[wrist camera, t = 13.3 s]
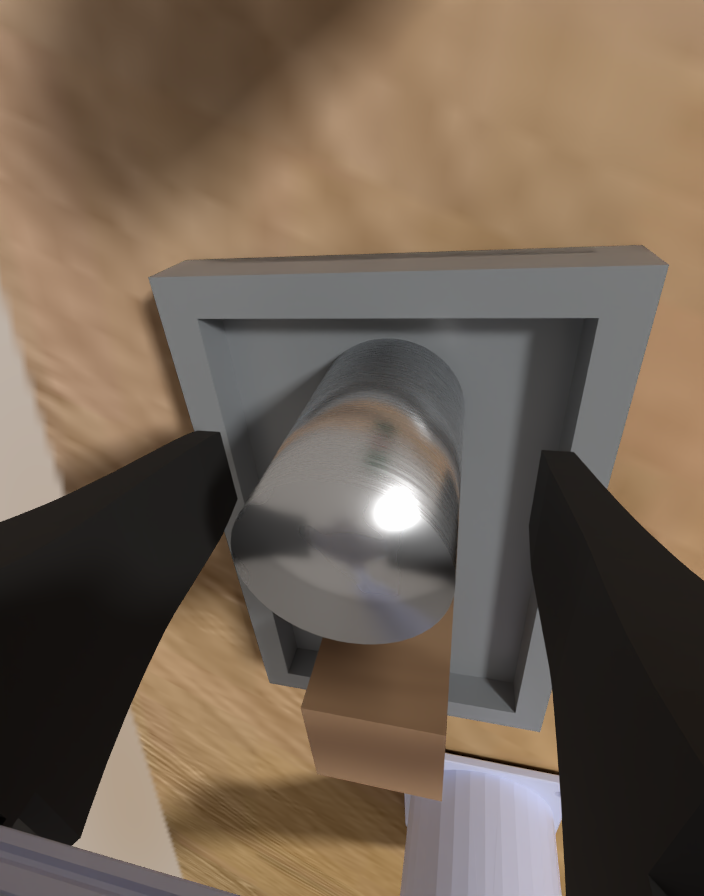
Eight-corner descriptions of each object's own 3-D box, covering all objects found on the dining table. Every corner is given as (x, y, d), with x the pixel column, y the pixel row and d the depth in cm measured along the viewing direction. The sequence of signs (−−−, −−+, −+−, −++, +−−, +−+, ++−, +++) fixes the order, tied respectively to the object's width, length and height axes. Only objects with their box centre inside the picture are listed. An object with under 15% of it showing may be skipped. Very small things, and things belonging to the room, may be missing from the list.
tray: (535, 686, 20) (540, 732, 18) (283, 646, 22) (269, 683, 21) (642, 245, 10) (668, 265, 9) (186, 260, 13) (148, 277, 11)
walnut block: (450, 655, 19) (441, 801, 15) (351, 640, 20) (317, 774, 16) (454, 586, 16) (446, 735, 12) (342, 572, 17) (300, 708, 13)
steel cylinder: (463, 469, 14) (454, 657, 9) (330, 464, 15) (256, 630, 10) (466, 336, 12) (456, 488, 7) (310, 340, 13) (204, 475, 8)
